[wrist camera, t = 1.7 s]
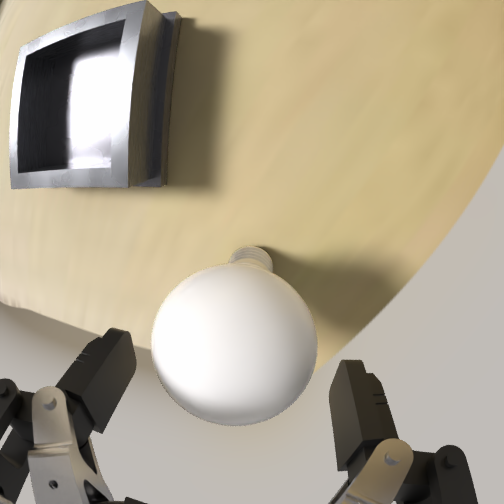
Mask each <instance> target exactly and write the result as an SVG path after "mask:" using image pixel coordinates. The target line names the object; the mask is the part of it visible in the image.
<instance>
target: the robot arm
mask: <svg viewBox="0 0 504 504" xmlns="http://www.w3.org/2000/svg"><path fill="white" fill-rule="evenodd" d="M135 370H136V357H135V352H134V348H133V343H132V339H131V335H130V333H129V332H128V331H124V330H120V329H116V328H110V329H109V330H108V331H107V332H106V333H105V335H104V336H103V337H102V338H100V337H98V338H96V339H95V340H93V341H91V342H90V343H88V344H87V346H86V347H85V348H84V349H83V351H82V353H81V354H80V355H79V356H78V357H77V358H76V361H74V363H72V365H71V366H70V367H69V369H68V370H67V371H66V373H65V374H64V375H63V377H62V378H61V379H60V381H59V382H58V383H57V385H56V386H55V387H53V386H47V387H44V388H41V389H40V390H39V391H37V392H36V393H31V392H25V391H20V390H19V389H18V388H17V386H16V384H15V383H14V382H13V381H12V380H10V379H0V440H1V438H2V436H3V435H4V433H5V431H6V429H7V428H8V426H9V425H11V426H12V428H13V429H12V431H11V432H10V434H9V436H8V438H7V440H6V441H5V443H4V445H3V447H2V448H1V450H0V504H16V501H17V498H18V496H19V494H20V492H21V489H22V487H23V484H24V482H25V480H26V478H27V476H28V473H29V471H30V476H31V482H32V487H33V492H34V497H35V501H36V504H147V503H143V502H140V501H138V500H134V499H132V498H129V497H126V498H125V501H114V499H113V497H112V494H111V492H110V490H109V489H108V486H107V485H106V483H105V482H104V480H103V478H102V475H101V472H100V469H99V466H98V462H97V459H96V456H95V452H94V449H93V445H92V441H91V438H90V434H91V432H92V430H94V431H96V432H99V433H101V434H103V432H104V430H105V428H106V426H107V424H108V422H109V420H110V418H111V416H112V414H113V412H114V410H115V408H116V407H117V405H118V403H119V401H120V399H121V397H122V395H123V394H124V392H125V390H126V387H127V386H128V384H129V382H130V380H131V378H132V377H133V375H134V373H135ZM329 403H330V411H331V418H332V426H333V433H334V442H335V450H336V458H337V468H338V471H348V479H347V480H346V481H345V482H344V484H343V485H342V486H341V488H340V489H339V490H338V492H337V493H336V494H335V496H334V497H333V498H332V499H331V501H330V502H329V503H328V504H391V503H392V502H393V501H396V503H397V504H478V502H477V497H476V493H475V489H474V485H473V481H472V477H471V473H470V470H469V466H468V463H467V460H466V456H465V454H464V452H463V451H462V450H461V449H460V448H458V447H457V446H454V445H446V446H443V447H441V448H440V449H439V450H438V451H437V452H436V453H429V452H419V451H414V450H412V449H411V447H410V446H409V445H408V444H407V443H406V442H404V441H402V440H400V439H399V438H398V435H397V431H396V428H395V425H394V421H393V418H392V415H391V411H390V408H389V405H387V403H388V402H387V399H386V396H385V393H384V390H383V387H382V384H381V382H380V381H379V380H378V379H377V377H376V376H375V375H374V374H373V373H366V370H365V367H364V364H363V362H362V360H341V362H340V364H339V367H338V369H337V371H336V374H335V377H334V379H333V382H332V384H331V387H330V392H329Z"/></svg>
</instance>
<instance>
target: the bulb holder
mask: <svg viewBox="0 0 504 504" xmlns="http://www.w3.org/2000/svg"><path fill="white" fill-rule="evenodd" d="M181 18H182V17H181V16H180V15H179V14H178V13H177V11H175V12H168V13H162V14H161V13H160V12H159V11H158V10H157V9H156V8H155V7H154V6H153V5H152V4H151V3H149V2H148V1H147V0H144V1H139V2H135V3H131V4H127V5H123V6H120V7H116V8H113V9H109V10H106V11H103V12H100V13H97V14H94V15H91V16H88V17H85V18H82V19H80V20H77V21H75V22H72V23H70V24H67V25H65V26H62V27H60V28H58V29H56V30H53V31H51V32H49V33H47V34H45V35H43V36H41V37H39V38H37V39H35V40H33V41H31V42H29V43H27V44H25V45H24V46H22V47H20V52H19V56H18V61H17V67H16V72H15V79H14V86H13V94H12V103H11V116H10V142H9V151H10V178H11V189H26V188H56V187H121V188H129V187H131V186H145V187H162V186H164V185H167V162H168V138H169V121H170V107H171V95H172V85H173V75H174V66H175V58H176V50H177V43H178V36H179V30H180V24H181Z"/></svg>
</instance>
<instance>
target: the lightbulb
mask: <svg viewBox="0 0 504 504" xmlns="http://www.w3.org/2000/svg"><path fill="white" fill-rule="evenodd" d="M317 351H318V339H317V331H316V327H315V323H314V320H313V317H312V315H311V312H310V310H309V308H308V307H307V305H306V303H305V302H304V300H303V299H302V297H301V296H300V295H299V294H298V292H297V291H296V290H295V289H294V288H293V287H292V286H291V285H290V284H288V283H287V282H286V281H285V280H283V279H282V278H280V277H279V276H277V275H275V274H274V273H273V263H272V260H271V258H270V256H269V255H268V253H267V252H265V251H264V250H263V249H261V248H259V247H255V246H245V247H241V248H239V249H238V250H236V251H235V252H234V253H233V254H232V256H231V258H230V260H229V262H228V264H220V265H215V266H211V267H208V268H205V269H202V270H200V271H197V272H195V273H194V274H192V275H190V276H188V277H187V278H185V279H184V280H183V281H181V282H180V283H179V284H178V285H177V286H176V287H175V288H174V289H173V290H172V291H171V292H170V293H169V294H168V295H167V297H166V298H165V300H164V301H163V303H162V304H161V306H160V308H159V310H158V312H157V315H156V317H155V320H154V324H153V328H152V334H151V355H152V360H153V364H154V368H155V371H156V373H157V376H158V378H159V380H160V382H161V384H162V386H163V387H164V389H165V390H166V392H167V393H168V394H169V396H170V397H171V398H172V399H173V400H174V401H175V402H176V403H177V404H178V405H179V406H181V407H182V408H183V409H184V410H186V411H187V412H189V413H190V414H192V415H194V416H196V417H198V418H200V419H202V420H204V421H207V422H210V423H214V424H218V425H224V426H246V425H252V424H256V423H260V422H263V421H266V420H268V419H271V418H273V417H275V416H276V415H278V414H280V413H281V412H283V411H284V410H286V409H287V408H288V407H289V406H290V405H292V404H293V403H294V402H295V401H296V400H297V399H298V398H299V396H300V395H301V394H302V392H303V391H304V390H305V388H306V386H307V385H308V383H309V381H310V379H311V376H312V374H313V371H314V368H315V364H316V359H317Z"/></svg>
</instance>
